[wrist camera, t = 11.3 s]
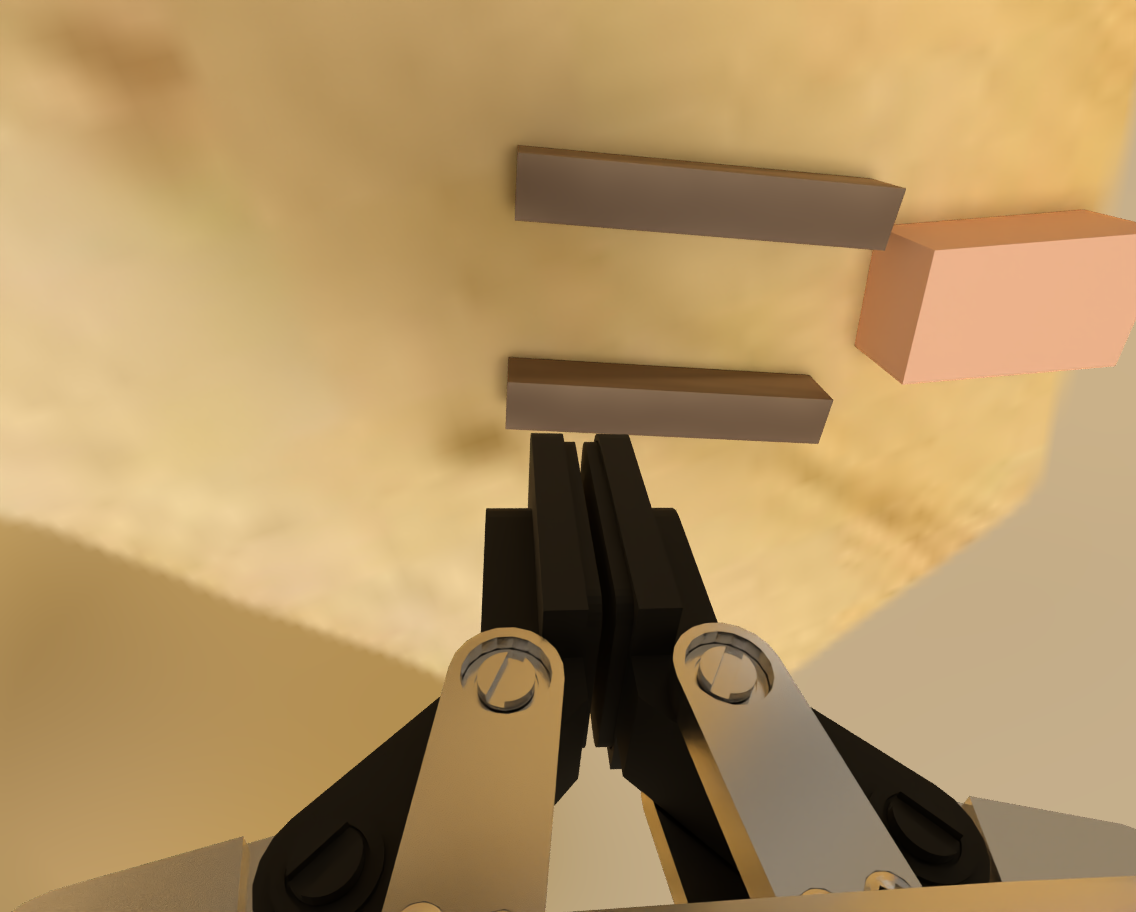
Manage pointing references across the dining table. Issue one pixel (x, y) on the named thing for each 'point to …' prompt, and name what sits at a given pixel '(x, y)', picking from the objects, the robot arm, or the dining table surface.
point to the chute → (695, 207)
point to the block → (1000, 296)
